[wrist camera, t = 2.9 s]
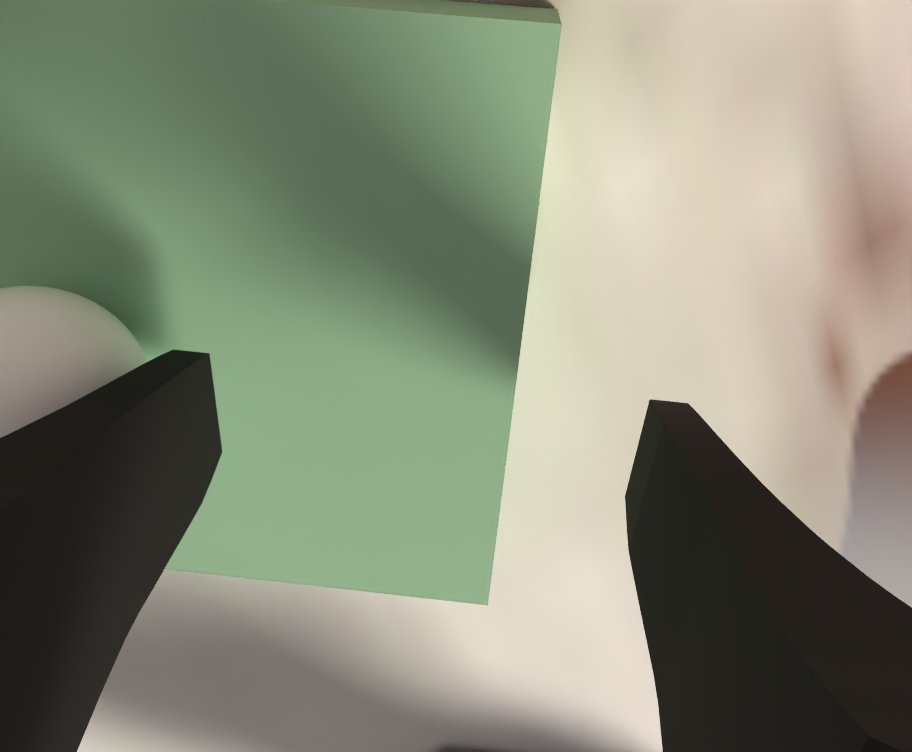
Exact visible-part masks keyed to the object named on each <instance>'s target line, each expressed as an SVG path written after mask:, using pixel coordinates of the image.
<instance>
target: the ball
mask: <svg viewBox="0 0 912 752" xmlns="http://www.w3.org/2000/svg"><path fill="white" fill-rule="evenodd" d="M146 362H147V361H146V358H145V356H144V353H143V351H142V349H141V347H140V345H139V343H138V342H137V340H136V339H135V337H134V336H133V335H132V333H131V332H130V331H129V330H128V329H127V327H126V326H125V325H124V324H123V323H122V322H121V321H120V320H119V319H118V318H117V317H115V316H114V315H113V314H112V313H110V312H109V311H108V310H106V309H105V308H103V307H102V306H100V305H99V304H97V303H95V302H93V301H91V300H89V299H87V298H85V297H83V296H80V295H77V294H75V293H71V292H68V291H64V290H60V289H57V288H50V287H44V286H14V287H6V288H0V438H1V437H3V436H6V435H8V434H10V433H12V432H14V431H16V430H18V429H20V428H22V427H24V426H26V425H28V424H30V423H32V422H34V421H36V420H38V419H40V418H42V417H44V416H46V415H48V414H50V413H52V412H54V411H56V410H59V409H61V408H63V407H65V406H67V405H68V404H70V403H72V402H74V401H76V400H78V399H80V398H82V397H83V396H85V395H87V394H89V393H91V392H93V391H94V390H96V389H98V388H100V387H102V386H104V385H106V384H107V383H109V382H111V381H113V380H115V379H117V378H118V377H120V376H122V375H124V374H126V373H128V372H129V371H131V370H133V369H135V368H137V367H139V366H140V365H142V364H144V363H146Z"/></svg>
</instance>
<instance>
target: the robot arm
mask: <svg viewBox="0 0 912 752" xmlns="http://www.w3.org/2000/svg"><path fill="white" fill-rule="evenodd" d="M221 454H222V445H221V438H220V430H219V422H218V415H217V407H216V399H215V392H214V384H213V376H212V369H211V361H210V353H202V352H192V351H183V350H171V351H169V352H167V353H164V354H162V355H160V356H158V357H156V358H154V359H152V360H150V361H148V362H146V363H144V364H142V365H140V366H139V367H137V368H135V369H133V370H131V371H129V372H128V373H126V374H124V375H122V376H120V377H118V378H117V379H115V380H113V381H111V382H109V383H107V384H106V385H104V386H102V387H100V388H98V389H96V390H94V391H93V392H91V393H89V394H87V395H85V396H83V397H82V398H80V399H78V400H76V401H74V402H72V403H70V404H68V405H67V406H65V407H63V408H61V409H59V410H56V411H54V412H52V413H50V414H48V415H46V416H44V417H42V418H40V419H38V420H36V421H34V422H32V423H30V424H28V425H26V426H24V427H22V428H20V429H18V430H16V431H14V432H12V433H10V434H8V435H6V436H3V437H1V438H0V752H77V750H78V747H79V745H80V742H81V740H82V737H83V735H84V733H85V730H86V728H87V725H88V723H89V721H90V718H91V716H92V713H93V711H94V709H95V706H96V704H97V701H98V699H99V697H100V694H101V692H102V690H103V687H104V685H105V683H106V681H107V678H108V676H109V674H110V672H111V669H112V667H113V665H114V663H115V660H116V658H117V656H118V654H119V652H120V649H121V647H122V645H123V643H124V640H125V638H126V636H127V634H128V632H129V631H130V629H131V627H132V625H133V623H134V621H135V619H136V617H137V615H138V613H139V612H140V610H141V608H142V606H143V605H144V603H145V601H146V600H147V598H148V596H149V594H150V593H151V591H152V589H153V588H154V586H155V584H156V582H157V581H158V579H159V577H160V575H161V574H162V572H163V570H164V569H165V567H166V565H167V563H168V562H169V560H170V558H171V557H172V555H173V553H174V551H175V550H176V548H177V546H178V545H179V543H180V541H181V539H182V538H183V536H184V534H185V532H186V531H187V529H188V527H189V525H190V524H191V522H192V520H193V518H194V517H195V515H196V513H197V511H198V509H199V508H200V506H201V504H202V502H203V500H204V497H205V495H206V492H207V490H208V488H209V485H210V483H211V480H212V478H213V475H214V473H215V470H216V467H217V465H218V462H219V459H220V457H221ZM625 502H626V520H627V535H628V548H629V555H630V560H631V565H632V570H633V575H634V580H635V585H636V590H637V595H638V600H639V605H640V610H641V615H642V620H643V625H644V629H645V634H646V639H647V644H648V649H649V654H650V659H651V663H652V668H653V673H654V679H655V685H656V692H657V698H658V705H659V716H660V726H661V736H662V746H663V752H912V608H911V607H910V606H908V605H907V604H905V603H904V602H902V601H901V600H900V599H898V598H897V597H895V596H894V595H892V594H891V593H889V592H888V591H887V590H885V589H884V588H883V587H881V586H880V585H879V584H877V583H876V582H874V581H873V580H872V579H870V578H869V577H868V576H866V575H865V574H864V573H863V572H861V571H860V570H859V569H858V568H856V567H855V566H854V565H853V564H851V563H850V562H849V561H847V560H846V559H845V558H844V557H843V556H841V555H840V554H839V553H838V552H836V551H835V550H834V549H833V548H831V547H830V546H829V545H828V544H827V543H825V542H824V541H823V540H822V539H821V538H820V537H818V536H817V535H816V534H815V533H814V532H813V531H812V530H810V529H809V528H808V527H807V526H806V525H805V524H804V523H803V522H802V521H801V520H800V519H799V518H797V517H796V516H795V515H794V514H793V513H792V512H791V511H790V510H789V509H788V508H787V507H786V506H785V505H783V504H782V503H781V502H780V501H779V500H778V499H777V498H776V497H775V496H774V495H773V494H772V493H771V492H770V491H769V490H768V489H767V488H766V487H765V486H764V485H763V484H762V483H761V482H760V481H759V480H758V479H757V478H756V477H755V476H754V474H753V473H752V472H751V471H750V470H749V469H748V468H747V467H746V466H745V465H744V464H743V463H742V462H741V461H740V460H739V459H738V457H737V456H736V455H735V454H734V453H733V452H732V451H731V450H730V449H729V448H728V446H727V445H726V444H725V443H724V442H723V441H722V440H721V439H720V438H719V437H718V435H717V434H716V433H715V432H714V431H713V430H712V429H711V428H710V426H709V425H708V424H707V423H706V422H705V421H704V420H703V419H702V418H701V416H700V415H699V414H698V413H697V412H696V411H695V410H694V409H693V408H692V407H691V406H690V405H689V404H688V403H679V402H669V401H660V400H650V401H649V405H648V409H647V412H646V416H645V420H644V424H643V428H642V432H641V436H640V440H639V444H638V448H637V452H636V456H635V460H634V464H633V467H632V471H631V475H630V479H629V483H628V487H627V491H626V495H625Z"/></svg>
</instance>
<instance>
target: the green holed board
mask: <svg viewBox="0 0 912 752" xmlns="http://www.w3.org/2000/svg"><path fill="white" fill-rule="evenodd" d="M561 25H562V24H561V20H560V17H559V13H558V10H557V9H550V8H537V7H525V6H512V5H499V4H487V3H474V2H462V1H449V0H0V288H6V287H14V286H44V287H50V288H57V289H60V290H64V291H68V292H71V293H75V294H77V295H80V296H83V297H85V298H87V299H89V300H91V301H93V302H95V303H97V304H99V305H100V306H102V307H103V308H105V309H106V310H108V311H109V312H110V313H112V314H113V315H114V316H115V317H117V318H118V319H119V320H120V321H121V322H122V323H123V324H124V325H125V326H126V327H127V329H128V330H129V331H130V332H131V333H132V335H133V336H134V337H135V339H136V340H137V342H138V343H139V345H140V347H141V349H142V351H143V353H144V356H145V358H146V361H147V362H148V361H150V360H152V359H154V358H156V357H158V356H160V355H162V354H164V353H167V352H169V351H171V350H183V351H192V352H202V353H210V361H211V369H212V376H213V384H214V392H215V399H216V407H217V415H218V422H219V430H220V438H221V445H222V454H221V457H220V459H219V462H218V465H217V467H216V470H215V473H214V475H213V478H212V480H211V483H210V485H209V488H208V490H207V492H206V495H205V497H204V500H203V502H202V504H201V506H200V508H199V509H198V511H197V513H196V515H195V517H194V518H193V520H192V522H191V524H190V525H189V527H188V529H187V531H186V532H185V534H184V536H183V538H182V539H181V541H180V543H179V545H178V546H177V548H176V550H175V551H174V553H173V555H172V557H171V558H170V560H169V562H168V563H167V565H166V567H165V569H171V570H180V571H188V572H197V573H206V574H215V575H224V576H233V577H242V578H251V579H259V580H268V581H277V582H286V583H295V584H304V585H313V586H322V587H331V588H339V589H348V590H357V591H366V592H375V593H384V594H393V595H402V596H410V597H419V598H428V599H437V600H446V601H455V602H464V603H473V604H481V605H488V599H489V591H490V583H491V575H492V567H493V559H494V552H495V544H496V536H497V528H498V520H499V512H500V504H501V496H502V489H503V481H504V473H505V465H506V457H507V449H508V441H509V434H510V426H511V418H512V410H513V402H514V394H515V386H516V379H517V371H518V363H519V355H520V347H521V339H522V331H523V324H524V316H525V308H526V300H527V292H528V284H529V276H530V268H531V261H532V253H533V245H534V237H535V229H536V221H537V213H538V206H539V198H540V190H541V182H542V174H543V166H544V158H545V151H546V143H547V135H548V127H549V119H550V111H551V103H552V95H553V88H554V80H555V72H556V64H557V56H558V48H559V40H560V33H561Z"/></svg>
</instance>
